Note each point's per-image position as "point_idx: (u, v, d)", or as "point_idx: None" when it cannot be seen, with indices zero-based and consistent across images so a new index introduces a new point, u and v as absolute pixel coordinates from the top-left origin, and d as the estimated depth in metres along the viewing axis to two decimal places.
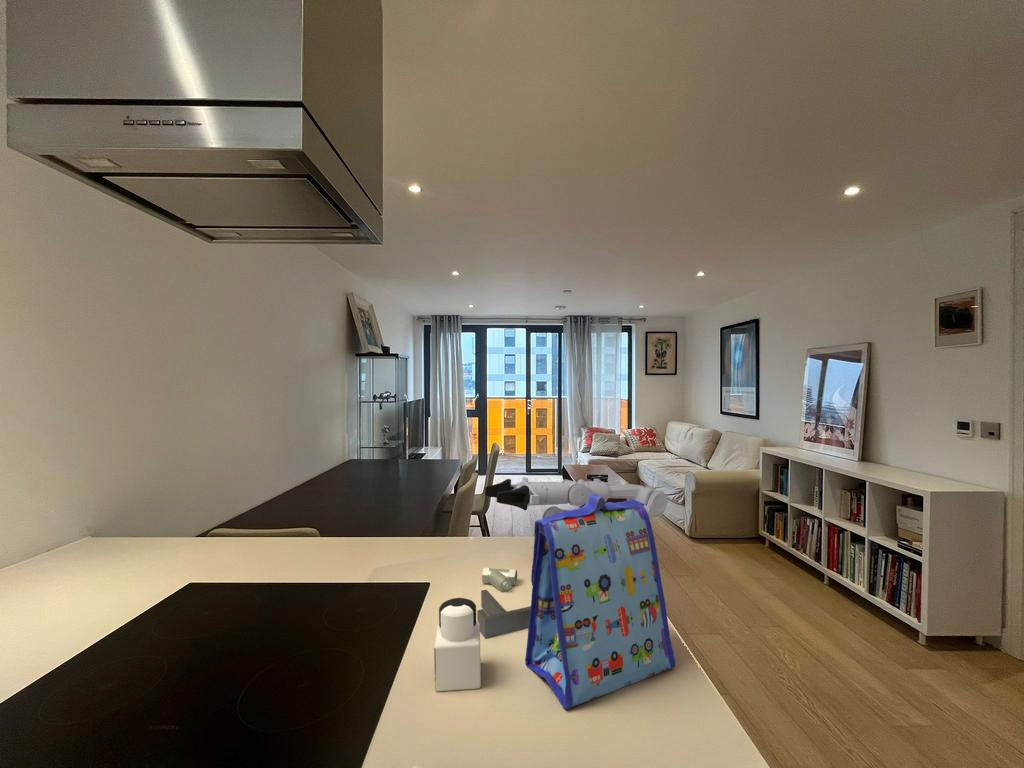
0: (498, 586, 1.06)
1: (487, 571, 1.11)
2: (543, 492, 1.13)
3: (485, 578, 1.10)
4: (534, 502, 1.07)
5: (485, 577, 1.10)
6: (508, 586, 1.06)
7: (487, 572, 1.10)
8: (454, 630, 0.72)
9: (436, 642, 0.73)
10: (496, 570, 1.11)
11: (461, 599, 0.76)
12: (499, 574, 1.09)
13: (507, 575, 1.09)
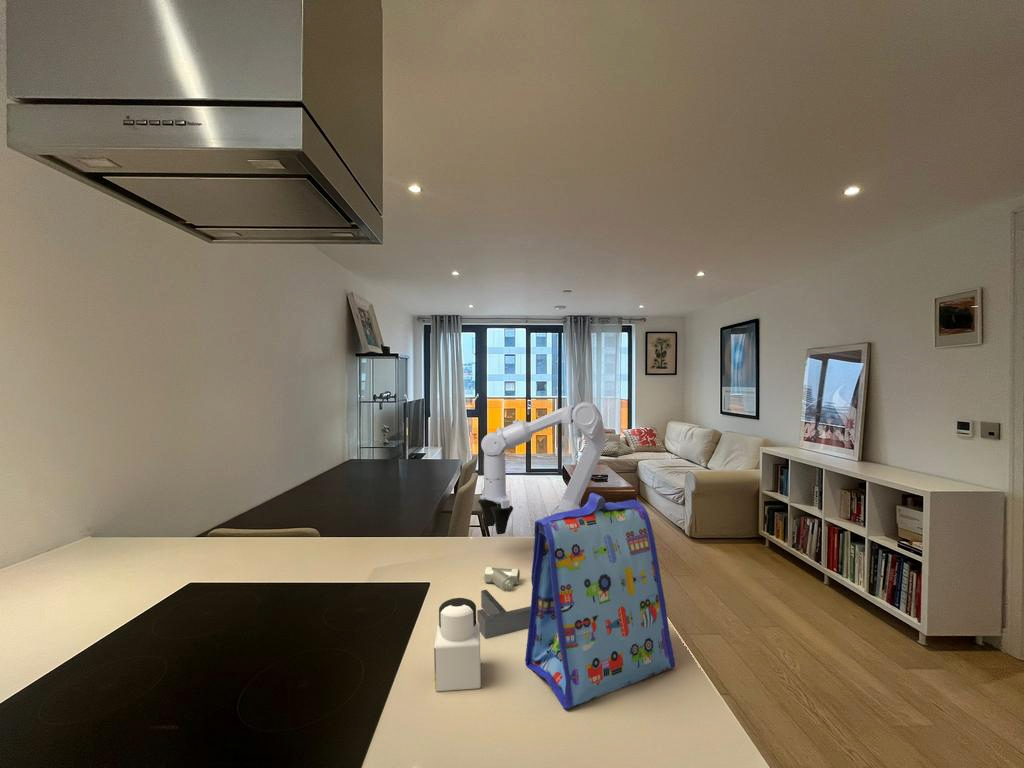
0: (500, 585, 1.07)
1: (489, 570, 1.11)
2: (496, 483, 1.19)
3: (487, 577, 1.10)
4: (508, 505, 1.15)
5: (487, 576, 1.10)
6: (510, 585, 1.06)
7: (489, 571, 1.11)
8: (454, 630, 0.72)
9: (436, 642, 0.73)
10: (498, 569, 1.11)
11: (461, 599, 0.76)
12: (501, 573, 1.09)
13: (509, 574, 1.10)
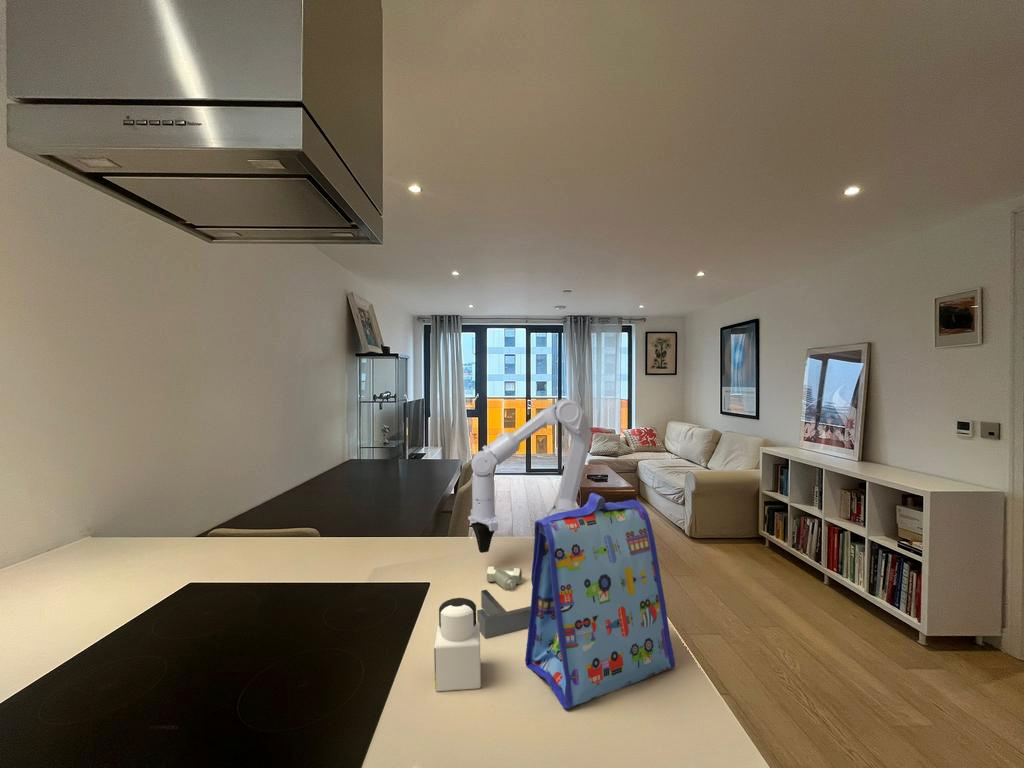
0: (502, 584, 1.07)
1: (492, 570, 1.12)
2: (484, 504, 1.15)
3: (490, 577, 1.11)
4: (496, 527, 1.11)
5: (490, 576, 1.11)
6: (512, 584, 1.07)
7: (492, 571, 1.11)
8: (454, 630, 0.72)
9: (436, 642, 0.73)
10: (501, 569, 1.12)
11: (461, 599, 0.76)
12: (503, 573, 1.09)
13: (511, 574, 1.10)
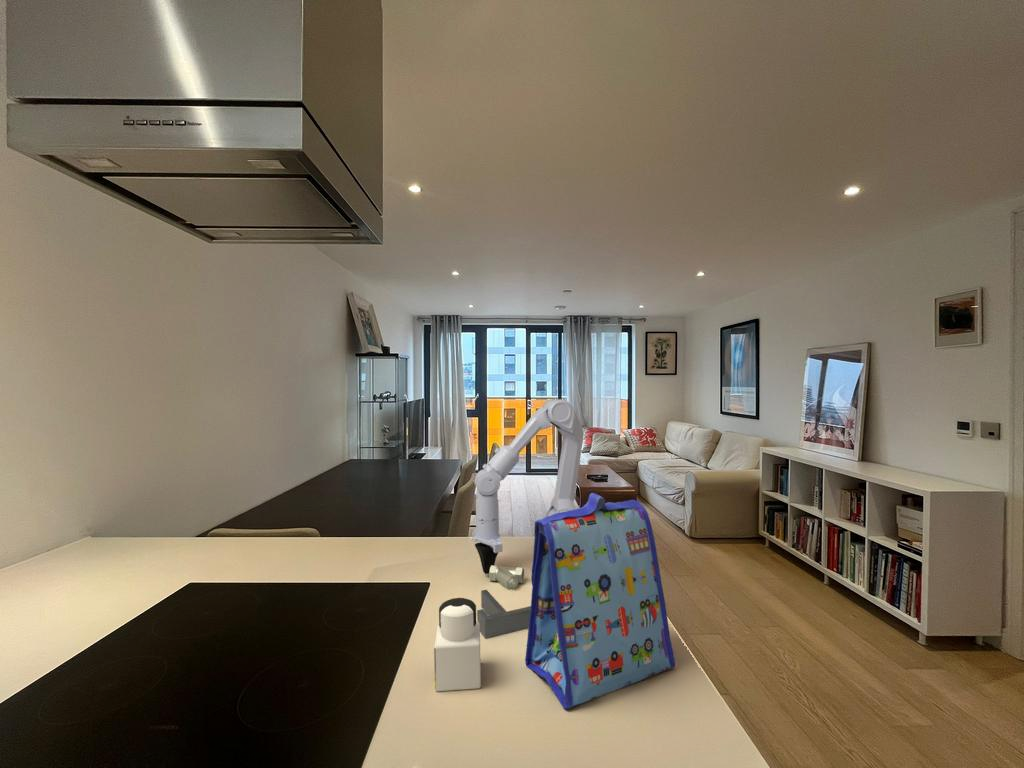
0: (505, 584, 1.08)
1: (494, 569, 1.12)
2: (488, 524, 1.13)
3: (492, 576, 1.11)
4: (500, 548, 1.09)
5: (492, 575, 1.11)
6: (514, 584, 1.07)
7: (494, 570, 1.12)
8: (454, 630, 0.72)
9: (436, 642, 0.73)
10: (503, 568, 1.12)
11: (461, 599, 0.76)
12: (506, 572, 1.10)
13: (514, 573, 1.10)
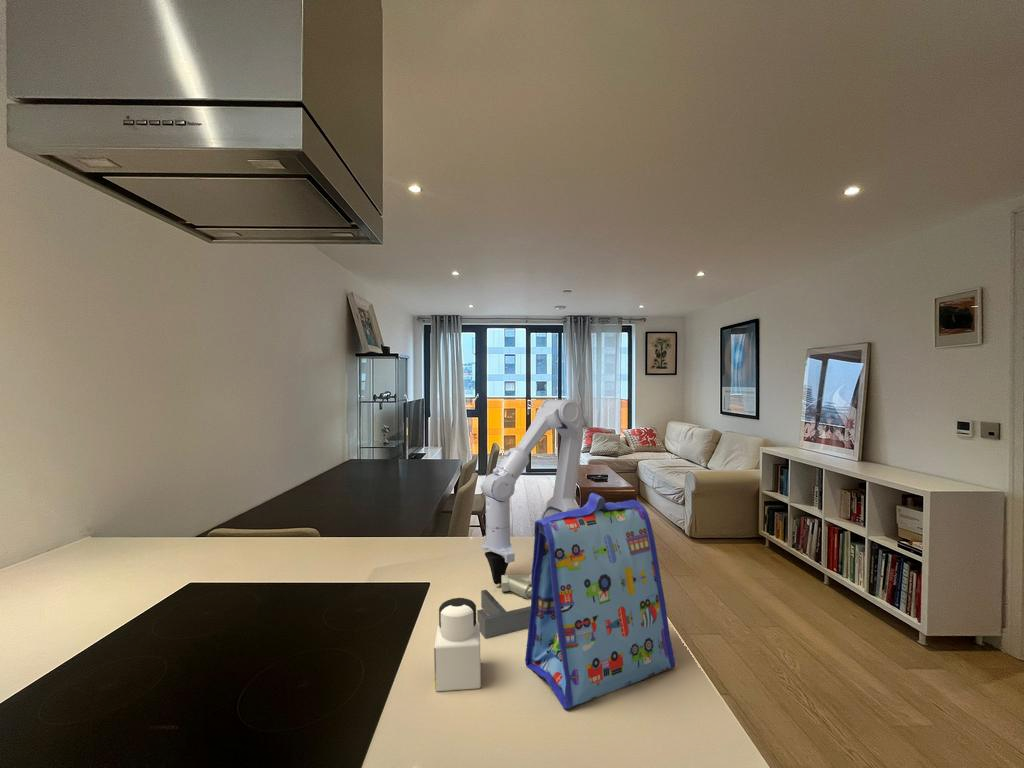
0: (523, 593, 1.02)
1: (506, 578, 1.06)
2: (499, 532, 1.06)
3: (505, 586, 1.05)
4: (512, 558, 1.02)
5: (505, 585, 1.05)
6: None
7: (506, 579, 1.05)
8: (454, 630, 0.72)
9: (436, 642, 0.73)
10: (515, 576, 1.06)
11: (461, 599, 0.76)
12: (521, 580, 1.04)
13: (528, 580, 1.05)
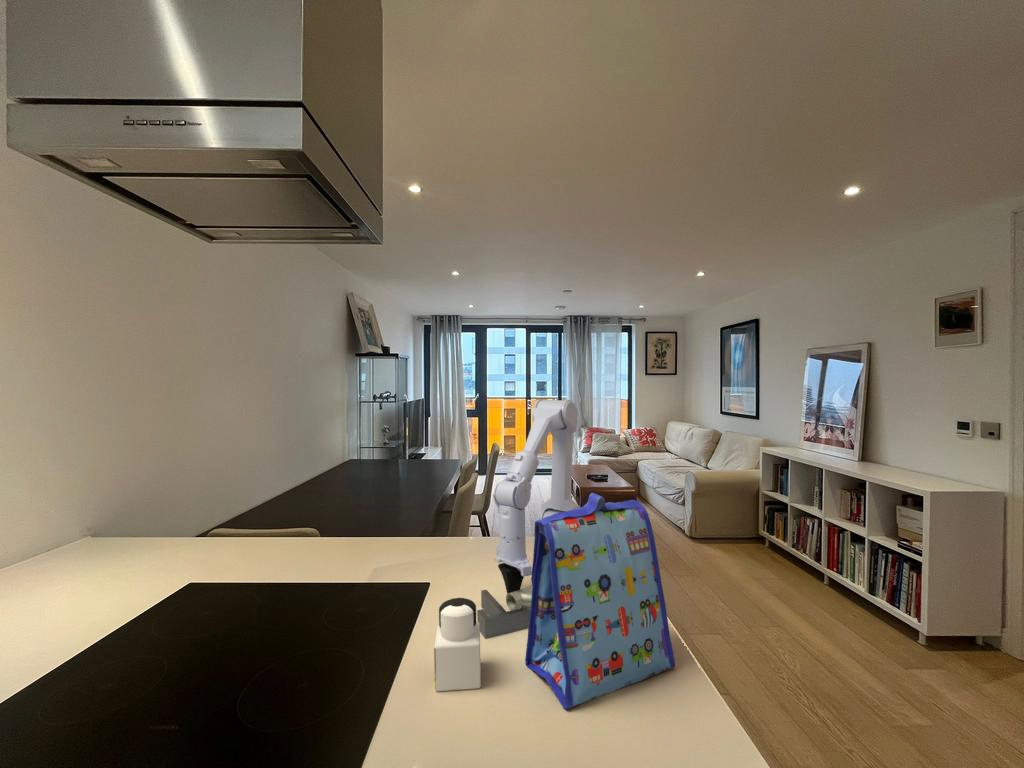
0: None
1: (518, 595, 0.97)
2: (514, 543, 0.99)
3: (519, 603, 0.96)
4: (529, 572, 0.95)
5: (519, 602, 0.96)
6: None
7: (518, 596, 0.97)
8: (454, 630, 0.72)
9: (436, 642, 0.73)
10: (524, 590, 0.99)
11: (461, 599, 0.76)
12: None
13: None
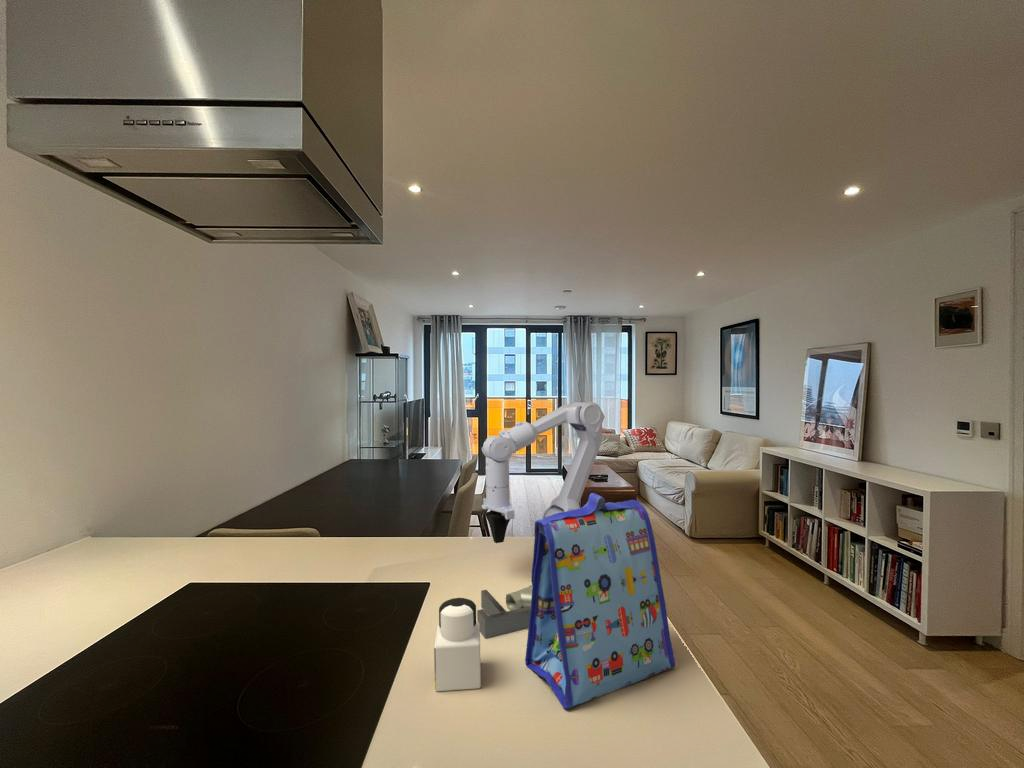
0: None
1: (517, 595, 0.97)
2: (499, 491, 1.09)
3: (518, 604, 0.97)
4: (512, 515, 1.05)
5: (518, 602, 0.97)
6: None
7: (518, 596, 0.97)
8: (454, 630, 0.72)
9: (436, 642, 0.73)
10: (523, 591, 0.99)
11: (461, 599, 0.76)
12: None
13: None
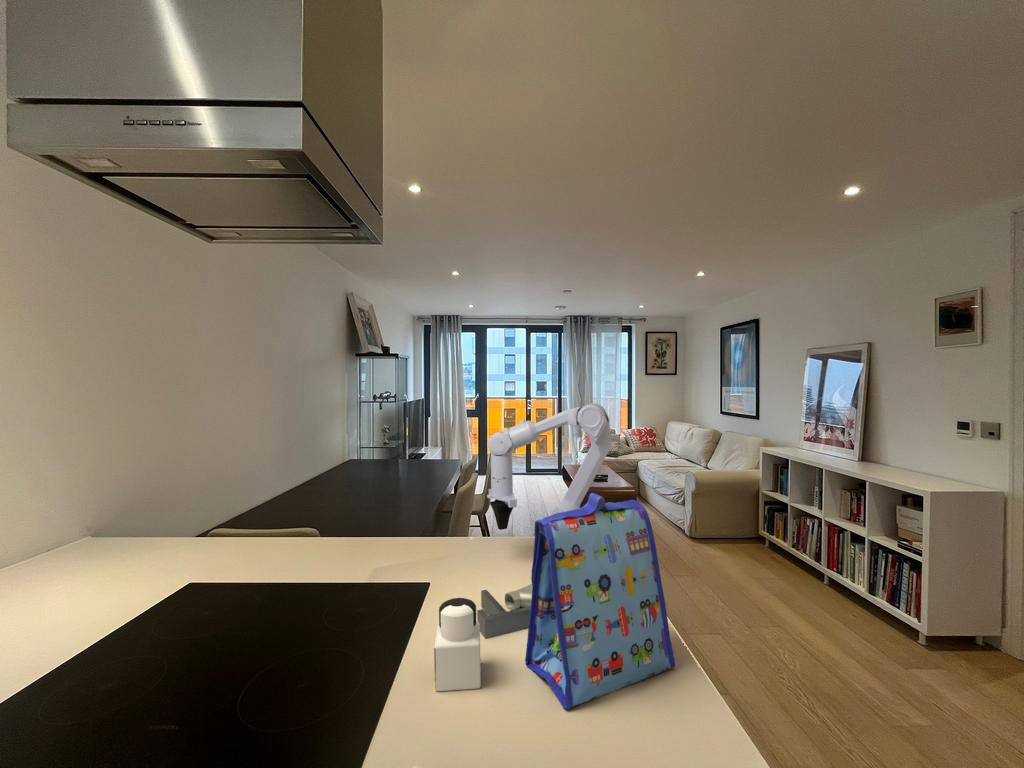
0: None
1: (516, 594, 0.98)
2: (503, 482, 1.19)
3: (517, 603, 0.97)
4: (515, 504, 1.16)
5: (517, 602, 0.97)
6: None
7: (517, 595, 0.98)
8: (454, 630, 0.72)
9: (436, 642, 0.73)
10: (522, 590, 1.00)
11: (461, 599, 0.76)
12: None
13: None
